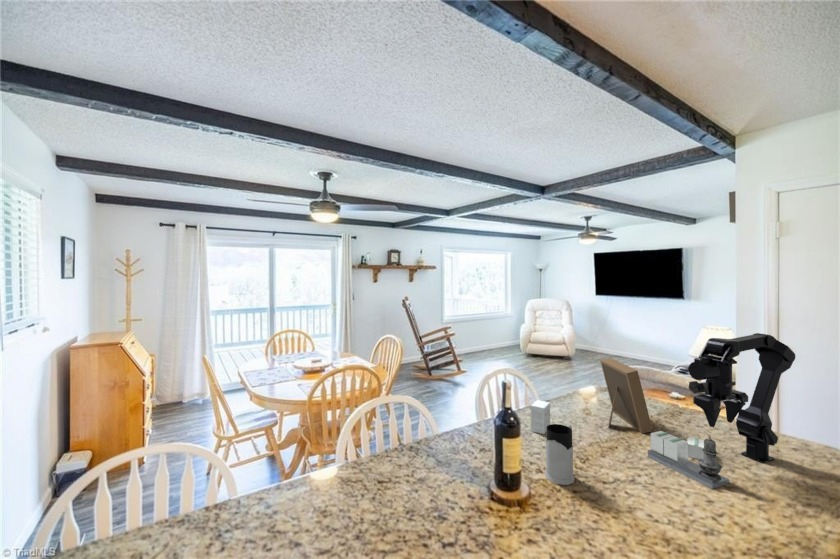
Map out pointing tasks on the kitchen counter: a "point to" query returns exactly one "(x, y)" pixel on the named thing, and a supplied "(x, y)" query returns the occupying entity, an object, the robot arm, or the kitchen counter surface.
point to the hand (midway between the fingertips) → (720, 424)
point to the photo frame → (626, 394)
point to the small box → (540, 416)
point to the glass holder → (559, 454)
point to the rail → (679, 458)
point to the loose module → (695, 448)
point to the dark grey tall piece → (710, 461)
